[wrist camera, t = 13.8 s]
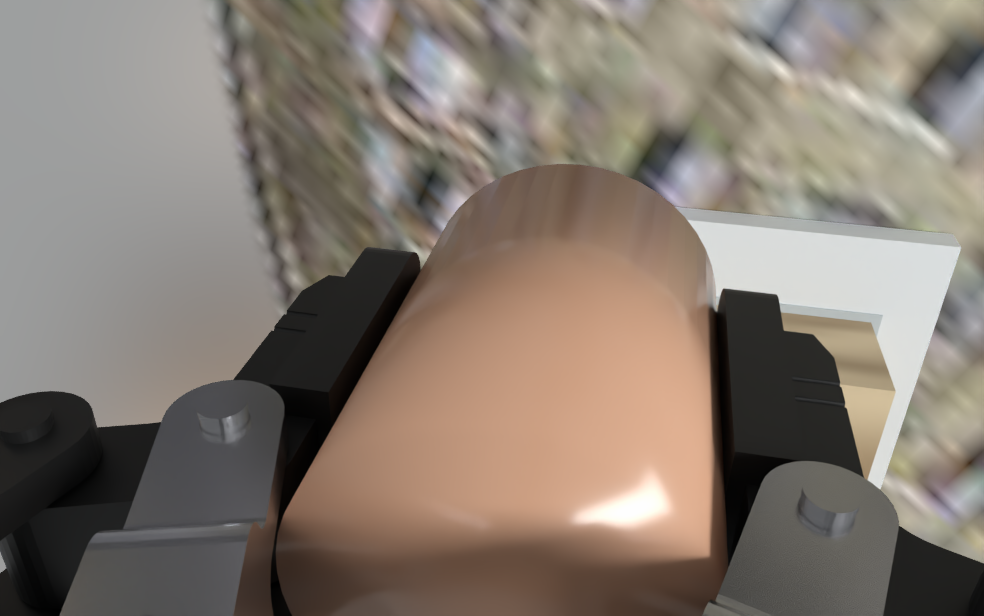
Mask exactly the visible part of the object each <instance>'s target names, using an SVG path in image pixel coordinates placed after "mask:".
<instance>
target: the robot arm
mask: <svg viewBox="0 0 984 616" xmlns="http://www.w3.org/2000/svg"><path fill="white" fill-rule="evenodd" d="M419 273H420V261H419V257H418V255H417V253H415V252H407V251H398V250H389V249H380V248H372V247H367V248H366V249H365V250H364V251H363V252H362V253H361V255H360V256H359V258H358V259H357V260H356V262H355V263H354V265H353V266H352V268H351V269H350V270H349V272H348V273H347V275H346V276H345V277H339V276H331V275H328V276H327V277H325V278H323V279H322V280H320V281H318V282H317V283H315V284H313V285H311V286H310V287H308V288H306V289H305V290H303V291H302V292H301V293H300V294H299V296H298V297H297V298H296V300H295V301H294V302H293V303H292V305H291V306H290V307H289V309H288V310H287V315H285V314H284V315H283V316H282V318H281V319H280V320H279V322H278V323H277V324H276V325H275V329H274V331H271V332H270V333H269V334H268V336H267V337H266V338H265V340H264V341H263V342H262V343H261V345H260V346H259V347H258V349H257V350H256V351H255V352H254V354H253V355H252V356H251V358H250V359H249V360H248V362H247V363H246V364H245V365H244V367H243V368H242V370H241V371H240V372H239V373H238V374H237V376H236V377H235V378H234V380H227V381H220V382H215V383H210V384H207V385H203V386H201V387H198V388H196V389H193V390H191V391H190V392H188V393H186V394H184V395H183V396H181V397H180V398H178V399H177V400H176V401H175V402H174V403H173V404H172V405H171V406H170V407H169V408H168V410H167V411H166V413H165V415H164V417H163V419H162V422H159V423H150V424H139V425H125V426H112V427H99V428H97V425H96V422H95V418H94V415H93V411H92V408H91V406H90V405H89V403H88V402H87V401H85V400H84V399H83V398H81V397H79V396H76V395H74V394H71V393H65V392H55V391H49V392H37V393H30V394H26V395H22V396H18V397H15V398H12V399H9V400H6V401H4V402H1V403H0V552H1V555H2V557H3V560H4V562H5V565H6V568H7V569H5V570H4V571H3V572H1V573H0V616H292V614H291V613H290V611H289V608H288V606H287V603H286V601H285V598H284V596H283V594H282V590H281V586H280V582H279V578H278V574H277V564H276V545H277V536H278V531H279V528H280V524H281V521H282V518H283V515H284V513H285V511H286V509H287V507H288V505H289V503H290V502H291V500H292V498H293V496H294V494H295V493H296V491H297V489H298V487H299V486H300V484H301V482H302V480H303V478H304V477H305V475H306V473H307V471H308V470H309V468H310V466H311V464H312V463H313V461H314V459H315V457H316V455H317V454H318V452H319V450H320V448H321V447H322V445H323V443H324V441H325V440H326V438H327V436H328V434H329V432H330V431H331V429H332V427H333V425H334V424H335V422H336V420H337V418H338V416H339V415H340V413H341V411H342V409H343V408H344V406H345V404H346V402H347V401H348V399H349V397H350V395H351V393H352V392H353V390H354V388H355V386H356V385H357V383H358V381H359V379H360V378H361V376H362V374H363V372H364V370H365V369H366V367H367V365H368V363H369V362H370V360H371V358H372V356H373V354H374V353H375V351H376V349H377V347H378V346H379V344H380V342H381V340H382V339H383V337H384V335H385V333H386V331H387V330H388V328H389V326H390V324H391V323H392V321H393V319H394V317H395V316H396V314H397V312H398V310H399V308H400V307H401V305H402V303H403V301H404V300H405V298H406V296H407V294H408V292H409V291H410V289H411V287H412V285H413V284H414V282H415V280H416V278H417V277H418V275H419ZM717 329H718V351H719V374H720V396H721V419H722V441H723V464H724V486H725V507H726V528H727V550H728V570H727V573H726V575H725V578H724V580H723V583H722V585H721V588H720V590H719V593H718V595H717V598H716V600H712V599H711V600H710V601H709V602H708V604H707V606H706V608H705V610H704V612H703V615H702V616H984V564H983V563H981V562H978V561H975V560H973V559H970V558H967V557H965V556H962V555H960V554H957V553H954V552H952V551H949V550H946V549H944V548H941V547H938V546H936V545H934V544H931V543H929V542H927V541H924V540H922V539H920V538H918V537H917V536H915V535H913V534H911V533H909V532H908V531H906V530H905V529H903V528H902V527H900V526H899V520H898V516H897V513H896V510H895V508H894V506H893V504H892V503H891V502H890V500H889V499H888V498H887V496H886V495H885V494H884V493H883V492H882V491H881V490H880V489H879V488H877V487H876V486H875V485H874V484H872V483H871V482H870V481H868V480H867V479H865V478H864V475H863V471H862V467H861V463H860V459H859V455H858V451H857V447H856V443H855V439H854V435H853V431H852V427H851V423H850V419H849V415H848V411H847V408H845V399H844V395H843V391H842V387H840V379H839V374H838V370H837V366H836V362H835V358H834V357H833V356H832V354H831V353H830V352H829V351H828V350H827V349H826V348H825V347H824V346H823V345H822V344H821V342H820V341H819V340H818V339H817V338H816V337H815V336H814V335H813V334H807V333H799V332H791V331H784V328H783V322H782V316H781V310H780V304H779V299H778V296H777V295H776V294H769V293H760V292H752V291H743V290H734V289H725V288H723V290H722V292H721V295H720V299H719V304H718V309H717Z"/></svg>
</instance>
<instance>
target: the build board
mask: <svg viewBox="0 0 984 616" xmlns="http://www.w3.org/2000/svg"><path fill="white" fill-rule="evenodd" d="M675 208H676V209H677V210H678V211H679V212H680V213H681V214H682V215H683V216H684V217H685V218H686V219H687V221H688V222H689V223H690V225H691V226H692V227H693V228H694V230H695V231H696V232H697V234H698V236H699V238H700V240H701V241H702V243H703V245H704V247H705V249H706V251H707V254H708V257H709V259H710V262H711V265H712V269H713V273H714V278H715V284H716V304H717V305H718V304H719V299H720V295H721V292H722V290H723V288H725V289H734V290H743V291H752V292H760V293H769V294H776V295H777V296H778V299H779V304H780V310H781V312H783V313H792V314H801V315H809V316H818V317H827V318H836V319H844V320H853V321H862V322H871V324H872V326H873V329H874V332H875V335H876V338H877V340H878V343H879V346H880V349H881V351H882V354H883V357H884V360H885V363H886V365H887V368H888V371H889V374H890V376H891V379H892V382H893V385H894V388H895V390H896V393H895V396H894V399H893V402H892V405H891V408H890V411H889V414H888V417H887V421H886V424H885V427H884V430H883V433H882V436H881V439H880V442H879V445H878V449H877V452H876V455H875V458H874V461H873V464H872V467H871V470H870V473H869V476H868V481H870V482H871V483H872V484H874V485H875V486H876V487H877V488H879V489H881V486H882V483H883V480H884V477H885V474H886V471H887V468H888V465H889V462H890V459H891V456H892V453H893V450H894V447H895V444H896V441H897V438H898V435H899V432H900V429H901V426H902V423H903V420H904V417H905V414H906V411H907V408H908V405H909V402H910V399H911V396H912V393H913V390H914V387H915V384H916V381H917V378H918V375H919V372H920V369H921V366H922V363H923V360H924V357H925V354H926V351H927V348H928V345H929V342H930V339H931V336H932V333H933V330H934V327H935V324H936V321H937V318H938V315H939V312H940V309H941V306H942V303H943V300H944V297H945V294H946V291H947V288H948V286H949V283H950V280H951V277H952V274H953V271H954V268H955V265H956V262H957V259H958V256H959V253H960V250H961V246H960V245H959V243H958V241H957V240H956V238H955V237H954V235H953V234H947V233H937V232H927V231H917V230H906V229H896V228H886V227H876V226H866V225H856V224H845V223H835V222H825V221H815V220H805V219H794V218H784V217H774V216H764V215H754V214H743V213H733V212H723V211H713V210H703V209H692V208H682V207H675Z"/></svg>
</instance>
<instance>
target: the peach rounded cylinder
mask: <svg viewBox="0 0 984 616" xmlns="http://www.w3.org/2000/svg"><path fill="white" fill-rule="evenodd" d="M276 564H277V574H278V578H279V582H280V586H281V590H282V594H283V596H284V598H285V601H286V603H287V606H288V608H289V611H290V613H291V614H292V616H702V615H703V612H704V610H705V608H706V606H707V604H708V602H709V601H710V600H711V599H712V600H716V598H717V595H718V593H719V590H720V588H721V585H722V583H723V580H724V578H725V575H726V573H727V570H728V550H727V528H726V507H725V486H724V464H723V441H722V419H721V396H720V374H719V351H718V329H717V304H716V284H715V278H714V273H713V269H712V265H711V262H710V259H709V257H708V254H707V251H706V249H705V247H704V245H703V243H702V241H701V240H700V238H699V236H698V234H697V232H696V231H695V230H694V228H693V227H692V226H691V225H690V223H689V222H688V221H687V219H686V218H685V217H684V216H683V215H682V214H681V213H680V212H679V211H678V210H677V209H676V208H675V207H674V206H673V205H672V204H671V203H670V202H669V201H667V200H666V199H665V198H663V197H662V196H661V195H659V194H658V193H657V192H655V191H654V190H652V189H650V188H649V187H647V186H645V185H643V184H642V183H640V182H638V181H636V180H634V179H631V178H629V177H626V176H624V175H622V174H619V173H616V172H612V171H609V170H605V169H602V168H597V167H591V166H584V165H571V164H555V165H544V166H537V167H533V168H528V169H524V170H520V171H517V172H514V173H511V174H509V175H506V176H503V177H501V178H499V179H497V180H495V181H493V182H492V183H490V184H488V185H486V186H485V187H483V188H482V189H480V190H479V191H478V192H476V193H475V194H473V195H472V196H471V197H470V198H469V199H468V200H467V201H466V202H465V203H464V204H463V205H462V206H460V207H459V209H458V210H457V211H456V212H455V214H454V215H453V216H452V218H451V219H450V220H449V222H448V223H447V225H446V227H445V229H444V230H443V232H442V234H441V236H440V238H439V239H438V241H437V243H436V245H435V246H434V248H433V250H432V252H431V254H430V255H429V257H428V259H427V261H426V262H425V264H424V266H423V268H422V269H421V271H420V273H419V275H418V277H417V278H416V280H415V282H414V284H413V285H412V287H411V289H410V291H409V292H408V294H407V296H406V298H405V300H404V301H403V303H402V305H401V307H400V308H399V310H398V312H397V314H396V316H395V317H394V319H393V321H392V323H391V324H390V326H389V328H388V330H387V331H386V333H385V335H384V337H383V339H382V340H381V342H380V344H379V346H378V347H377V349H376V351H375V353H374V354H373V356H372V358H371V360H370V362H369V363H368V365H367V367H366V369H365V370H364V372H363V374H362V376H361V378H360V379H359V381H358V383H357V385H356V386H355V388H354V390H353V392H352V393H351V395H350V397H349V399H348V401H347V402H346V404H345V406H344V408H343V409H342V411H341V413H340V415H339V416H338V418H337V420H336V422H335V424H334V425H333V427H332V429H331V431H330V432H329V434H328V436H327V438H326V440H325V441H324V443H323V445H322V447H321V448H320V450H319V452H318V454H317V455H316V457H315V459H314V461H313V463H312V464H311V466H310V468H309V470H308V471H307V473H306V475H305V477H304V478H303V480H302V482H301V484H300V486H299V487H298V489H297V491H296V493H295V494H294V496H293V498H292V500H291V502H290V503H289V505H288V507H287V509H286V511H285V513H284V515H283V518H282V521H281V524H280V528H279V531H278V536H277V545H276Z"/></svg>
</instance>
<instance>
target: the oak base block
mask: <svg viewBox="0 0 984 616" xmlns="http://www.w3.org/2000/svg"><path fill="white" fill-rule="evenodd" d="M717 309H718V305H717ZM781 316H782V322H783V328H784V331H791V332H799V333H807V334H813V335H814V336H815V337H816V338H817V339H818V340H819V341H820V342H821V344H822V345H823V346H824V347H825V348H826V349H827V350H828V351H829V352H830V353H831V354H832V356H833V357H834V358H835V362H836V366H837V370H838V374H839V379H840V387H842V391H843V395H844V399H845V408H847V411H848V415H849V419H850V423H851V427H852V431H853V435H854V439H855V443H856V447H857V451H858V455H859V459H860V463H861V467H862V471H863V475H864V478H865V479H867V480H868V476H869V473H870V470H871V467H872V464H873V461H874V458H875V455H876V452H877V449H878V445H879V442H880V439H881V436H882V433H883V430H884V427H885V424H886V421H887V417H888V414H889V411H890V408H891V405H892V402H893V399H894V396H895V393H896V390H895V388H894V385H893V382H892V379H891V376H890V374H889V371H888V368H887V365H886V363H885V360H884V357H883V354H882V351H881V349H880V346H879V343H878V340H877V338H876V335H875V332H874V329H873V326H872V324H871V322H862V321H853V320H844V319H836V318H827V317H818V316H809V315H801V314H792V313H783V312H781Z"/></svg>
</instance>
